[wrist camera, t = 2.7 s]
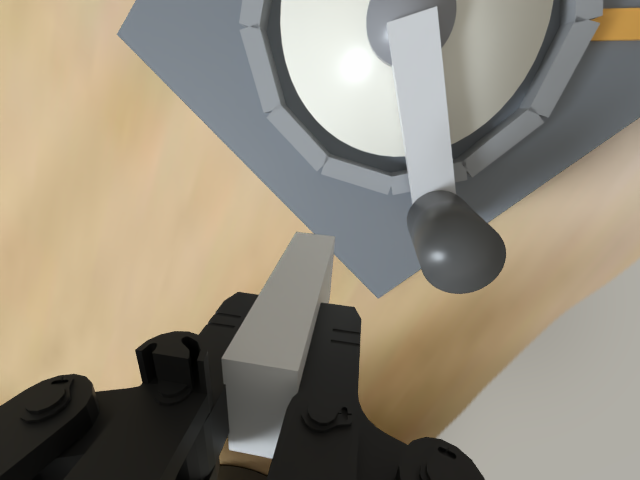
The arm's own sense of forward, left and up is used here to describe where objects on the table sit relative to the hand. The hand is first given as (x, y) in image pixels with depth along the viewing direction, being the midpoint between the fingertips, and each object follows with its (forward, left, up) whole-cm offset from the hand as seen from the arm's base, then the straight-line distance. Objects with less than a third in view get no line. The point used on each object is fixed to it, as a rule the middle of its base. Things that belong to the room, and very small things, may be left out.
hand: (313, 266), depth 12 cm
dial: (+8, -4, -11) cm, 14 cm away
